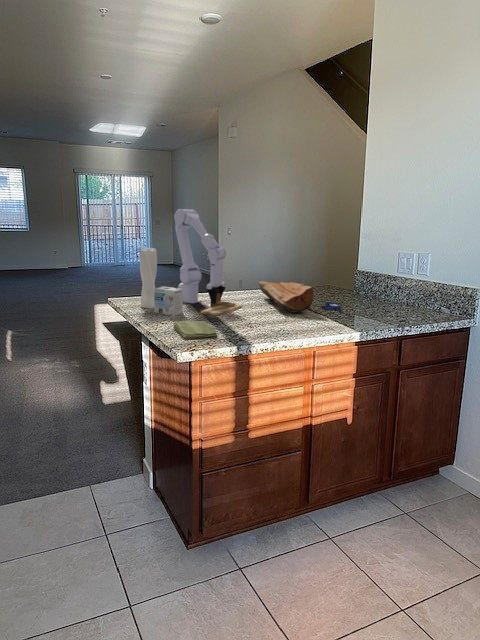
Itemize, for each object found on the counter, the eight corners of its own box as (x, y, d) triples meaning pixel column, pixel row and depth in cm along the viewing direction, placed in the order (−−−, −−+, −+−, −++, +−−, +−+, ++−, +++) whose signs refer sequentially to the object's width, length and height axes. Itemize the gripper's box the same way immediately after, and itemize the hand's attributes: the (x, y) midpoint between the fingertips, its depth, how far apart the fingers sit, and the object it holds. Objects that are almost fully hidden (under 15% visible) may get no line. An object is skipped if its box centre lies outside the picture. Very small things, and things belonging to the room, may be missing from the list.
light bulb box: (153, 312, 201) (153, 287, 198) (163, 310, 207) (163, 286, 204) (174, 316, 196) (174, 290, 194) (183, 313, 202) (183, 288, 200)
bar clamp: (316, 301, 230) (335, 301, 233) (316, 306, 231) (334, 306, 233) (347, 318, 200) (368, 318, 202) (346, 324, 200) (367, 323, 203)
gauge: (210, 306, 218) (210, 292, 217) (214, 305, 222) (214, 291, 221) (232, 309, 214) (233, 294, 212) (236, 308, 217) (236, 293, 216)
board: (200, 313, 203) (200, 310, 203) (224, 305, 224) (224, 302, 223) (218, 315, 200) (219, 313, 199) (241, 307, 220) (241, 305, 220)
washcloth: (183, 341, 160) (183, 332, 159) (171, 329, 176) (171, 320, 175) (219, 338, 164) (219, 330, 164) (205, 327, 180) (205, 319, 180)
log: (312, 314, 207) (316, 280, 206) (274, 310, 204) (277, 276, 204) (288, 310, 249) (290, 282, 248) (256, 307, 246) (258, 279, 245)
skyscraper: (136, 307, 210) (135, 244, 204) (144, 304, 217) (144, 243, 211) (152, 309, 208) (152, 245, 202) (159, 306, 215) (159, 244, 209)
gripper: (216, 275, 208) (215, 305, 211) (231, 272, 221) (230, 301, 224) (202, 274, 211) (202, 304, 214) (218, 271, 224) (217, 299, 227)
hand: (215, 302), depth 219 cm, fingers closed on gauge, 4 cm apart
